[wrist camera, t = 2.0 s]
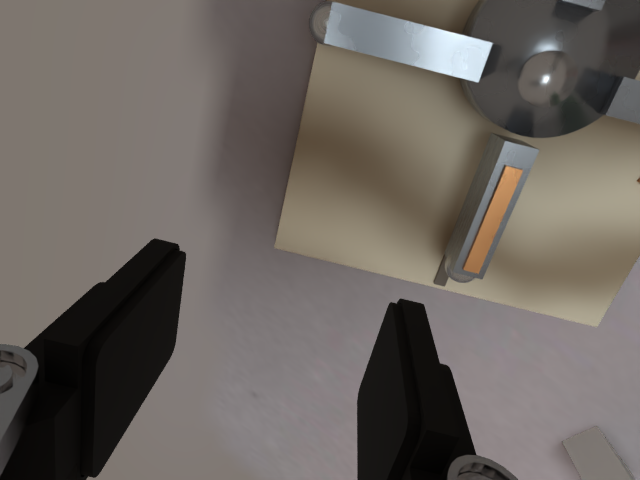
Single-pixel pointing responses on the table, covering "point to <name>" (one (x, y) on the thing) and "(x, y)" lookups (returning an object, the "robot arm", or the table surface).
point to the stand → (454, 182)
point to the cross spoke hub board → (509, 87)
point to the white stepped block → (596, 457)
